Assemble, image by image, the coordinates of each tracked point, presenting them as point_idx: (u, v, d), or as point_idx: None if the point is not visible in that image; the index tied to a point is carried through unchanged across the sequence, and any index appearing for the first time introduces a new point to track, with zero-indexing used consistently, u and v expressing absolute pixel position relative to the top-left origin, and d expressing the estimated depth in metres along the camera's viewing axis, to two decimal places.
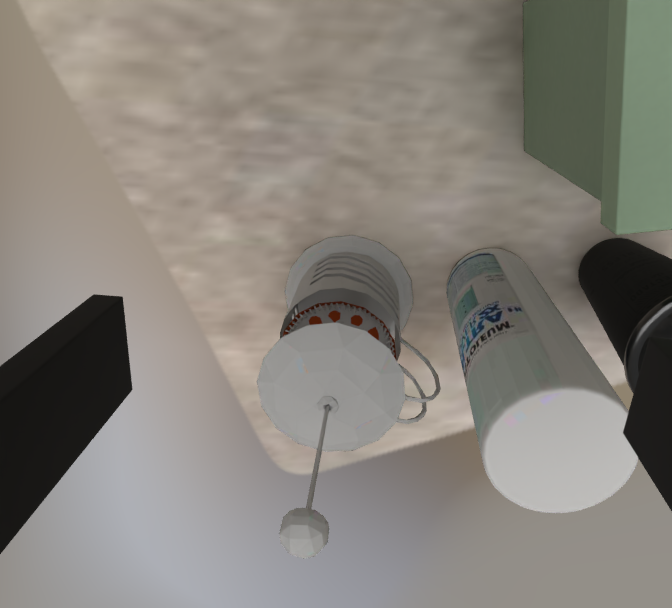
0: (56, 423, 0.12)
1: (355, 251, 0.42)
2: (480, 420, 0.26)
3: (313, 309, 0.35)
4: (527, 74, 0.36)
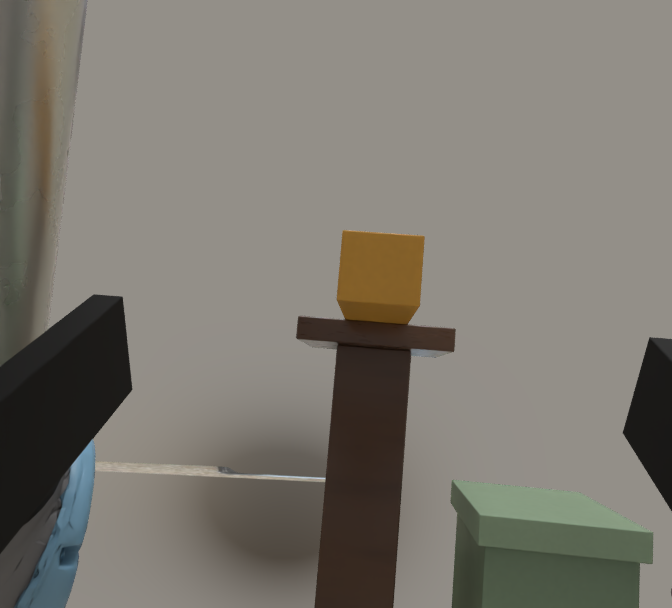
0: (56, 423, 0.12)
1: None
2: None
3: None
4: None
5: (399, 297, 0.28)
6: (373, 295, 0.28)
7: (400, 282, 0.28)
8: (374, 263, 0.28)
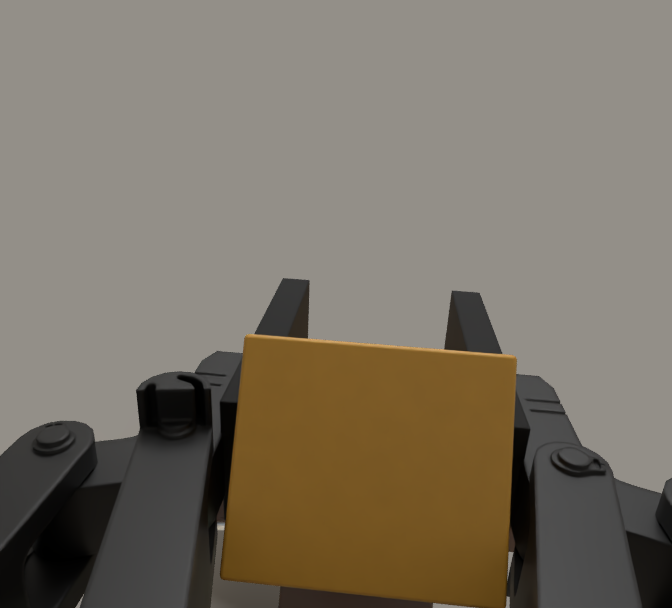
0: None
1: None
2: None
3: None
4: None
5: (434, 575, 0.08)
6: (344, 566, 0.08)
7: (438, 520, 0.08)
8: (348, 452, 0.08)
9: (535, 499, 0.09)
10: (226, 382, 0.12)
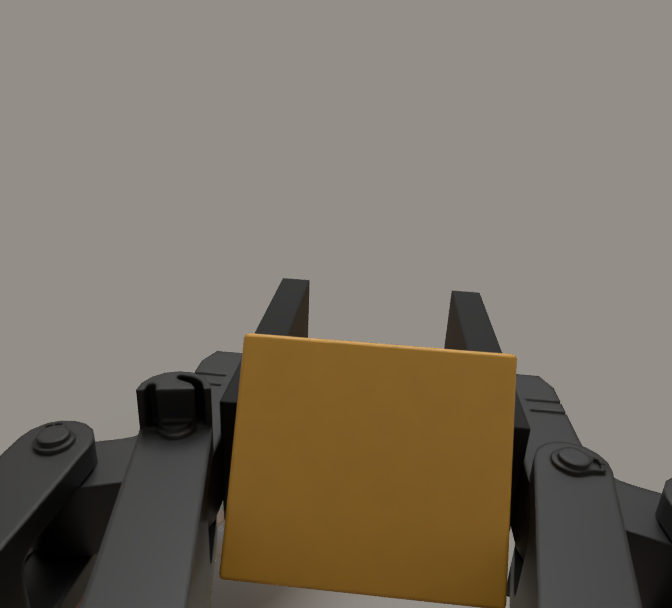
0: None
1: None
2: None
3: None
4: None
5: (435, 575, 0.08)
6: (344, 566, 0.08)
7: (438, 520, 0.08)
8: (348, 452, 0.08)
9: (535, 499, 0.09)
10: (226, 382, 0.12)
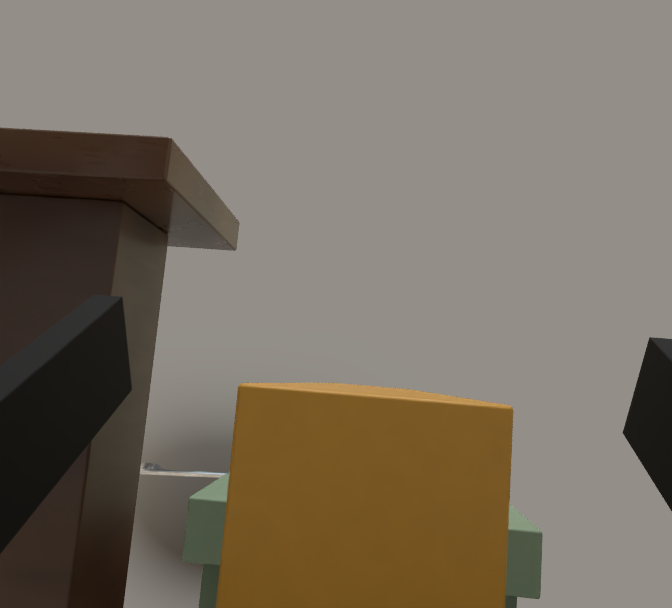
0: (56, 423, 0.12)
1: None
2: None
3: None
4: None
5: None
6: None
7: (434, 574, 0.08)
8: (343, 505, 0.08)
9: None
10: None
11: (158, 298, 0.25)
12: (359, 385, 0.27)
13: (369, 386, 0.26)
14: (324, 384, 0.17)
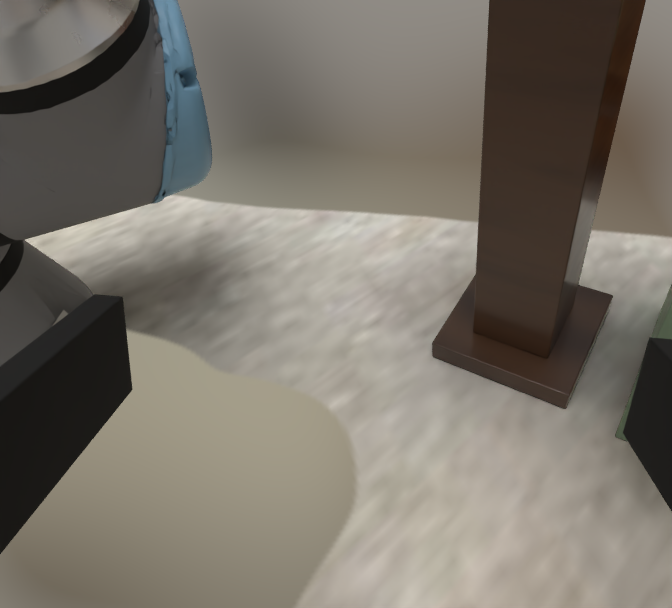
0: (56, 423, 0.12)
1: None
2: None
3: None
4: None
5: None
6: None
7: None
8: None
9: None
10: None
11: None
12: None
13: None
14: None
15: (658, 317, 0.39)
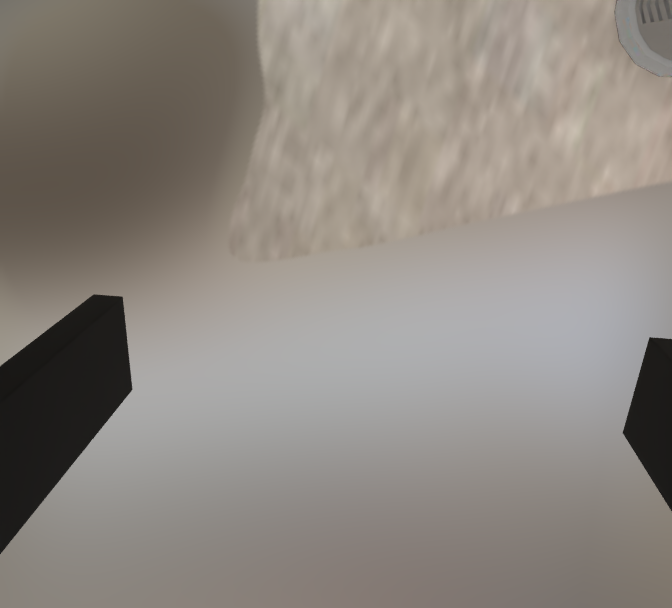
0: (56, 423, 0.12)
1: None
2: None
3: None
4: None
5: None
6: None
7: None
8: None
9: None
10: None
11: None
12: None
13: None
14: None
15: None
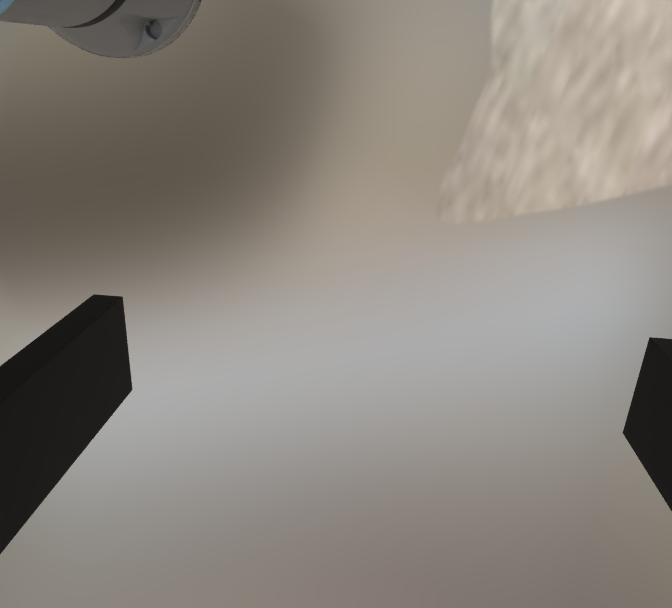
0: (56, 423, 0.12)
1: None
2: None
3: None
4: None
5: None
6: None
7: None
8: None
9: None
10: None
11: None
12: None
13: None
14: None
15: None
